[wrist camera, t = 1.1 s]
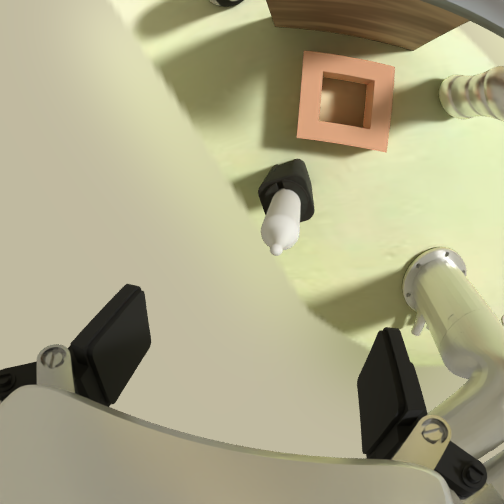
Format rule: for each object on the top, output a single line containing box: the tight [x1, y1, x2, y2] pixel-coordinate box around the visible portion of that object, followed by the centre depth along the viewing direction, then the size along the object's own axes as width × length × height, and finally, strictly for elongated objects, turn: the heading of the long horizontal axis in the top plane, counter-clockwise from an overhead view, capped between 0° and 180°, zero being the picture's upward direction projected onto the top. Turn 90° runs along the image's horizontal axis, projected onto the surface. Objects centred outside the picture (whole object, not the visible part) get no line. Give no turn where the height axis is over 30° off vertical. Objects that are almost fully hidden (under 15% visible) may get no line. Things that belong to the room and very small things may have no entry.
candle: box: [258, 159, 314, 256], centre depth 31 cm, size 5×5×25 cm
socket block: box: [297, 51, 395, 152], centre depth 34 cm, size 12×12×5 cm
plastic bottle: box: [439, 66, 504, 121], centre depth 23 cm, size 6×7×20 cm
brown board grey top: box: [266, 0, 504, 51], centre depth 20 cm, size 6×22×26 cm, turn 86°
